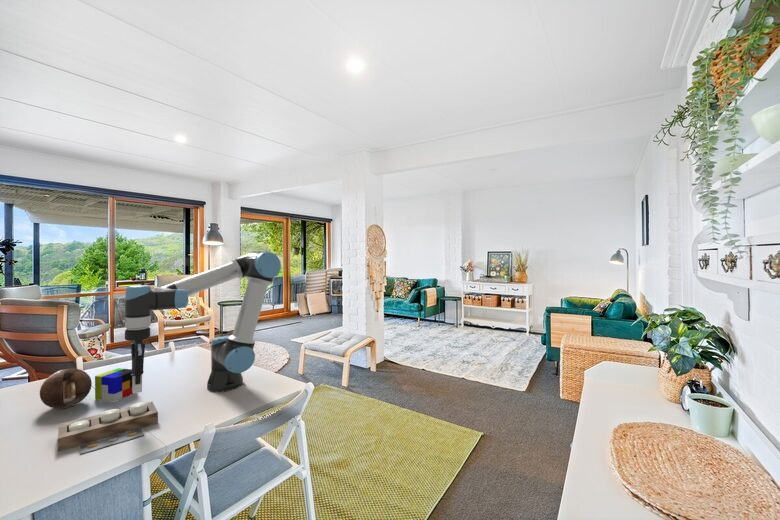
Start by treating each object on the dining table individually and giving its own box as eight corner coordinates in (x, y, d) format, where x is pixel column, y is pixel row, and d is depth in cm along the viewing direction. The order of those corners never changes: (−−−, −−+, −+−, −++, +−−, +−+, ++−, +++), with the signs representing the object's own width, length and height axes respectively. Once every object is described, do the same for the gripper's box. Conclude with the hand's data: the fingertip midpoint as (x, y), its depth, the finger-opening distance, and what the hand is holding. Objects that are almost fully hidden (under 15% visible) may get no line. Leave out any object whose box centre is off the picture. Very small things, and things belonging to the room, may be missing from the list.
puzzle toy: (114, 401, 140) (114, 378, 140) (95, 399, 142) (94, 376, 142) (137, 392, 150) (136, 369, 149) (118, 390, 152) (118, 368, 151)
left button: (89, 428, 116) (89, 418, 116) (89, 434, 113) (89, 424, 112) (69, 434, 113) (68, 423, 113) (69, 440, 109) (68, 429, 109)
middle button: (118, 417, 122) (118, 407, 122) (120, 422, 118) (120, 412, 118) (100, 421, 118) (100, 412, 118) (101, 427, 115) (101, 417, 115)
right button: (145, 410, 127) (145, 401, 127) (148, 414, 124) (147, 405, 123) (129, 414, 124) (129, 405, 124) (130, 419, 120) (130, 409, 120)
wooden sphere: (48, 403, 138) (48, 367, 138) (96, 395, 145) (95, 361, 145) (32, 419, 125) (32, 379, 125) (85, 410, 132) (85, 372, 132)
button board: (152, 411, 131) (152, 401, 131) (161, 430, 118) (161, 419, 118) (58, 436, 114) (58, 424, 114) (57, 461, 100) (56, 448, 100)
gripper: (122, 326, 125) (122, 389, 125) (127, 332, 116) (126, 400, 116) (147, 323, 130) (146, 384, 130) (153, 329, 121) (152, 394, 121)
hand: (137, 392), depth 123 cm, fingers closed
